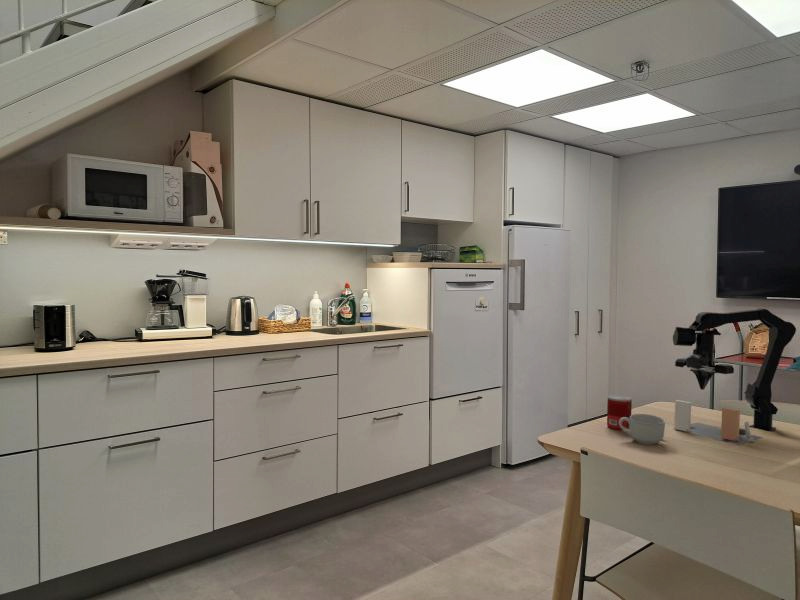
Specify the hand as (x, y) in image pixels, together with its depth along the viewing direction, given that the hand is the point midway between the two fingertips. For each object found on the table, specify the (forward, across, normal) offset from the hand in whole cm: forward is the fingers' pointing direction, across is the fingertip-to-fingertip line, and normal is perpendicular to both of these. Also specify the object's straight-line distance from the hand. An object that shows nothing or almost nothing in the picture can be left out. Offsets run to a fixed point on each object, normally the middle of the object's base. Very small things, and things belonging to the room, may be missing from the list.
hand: (702, 389), depth 206 cm
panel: (+13, +10, -9) cm, 19 cm away
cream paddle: (+12, +2, -16) cm, 20 cm away
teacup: (+14, +1, -37) cm, 40 cm away
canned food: (+14, -13, -29) cm, 35 cm away
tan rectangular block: (+12, +17, -13) cm, 25 cm away
